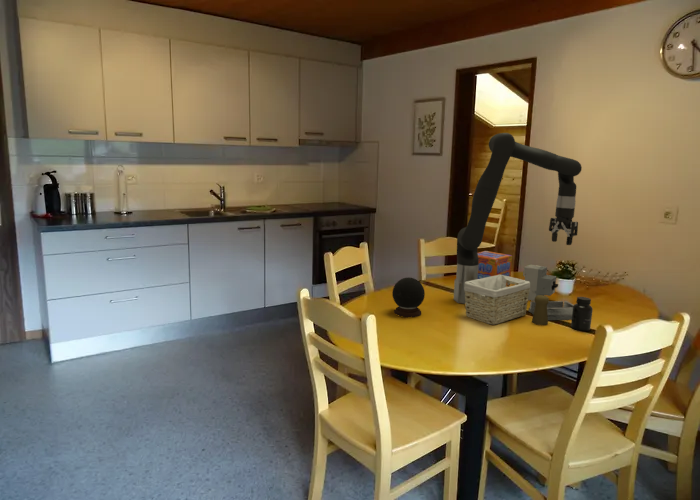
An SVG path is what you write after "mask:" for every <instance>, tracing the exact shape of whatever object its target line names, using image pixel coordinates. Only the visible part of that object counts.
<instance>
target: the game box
mask: <svg viewBox="0 0 700 500" xmlns="http://www.w3.org/2000/svg"><path fill="white" fill-rule="evenodd" d="M477 253H478V258H479V264H478V279H482V278H486V277H490V276H496V275H504V276H509V277H512V276H511V275H512V263H513V255H511V254H505V253H500V252H494V251H490V250H489V251H488V250H484V251H479V252H477ZM509 286H511V283H506V287H509Z"/></svg>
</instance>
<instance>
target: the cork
mask: <svg viewBox="0 0 700 500" xmlns="http://www.w3.org/2000/svg"><path fill="white" fill-rule="evenodd" d="M549 301H550V298H549V296H548V295H537V296H536V297H535V301H534V302H535V303H536V305H535V309H534V314H532V318H531V323H532V324H534V325H538V326H547V325H548V324H549V320H548V315H547V304H548V302H549Z"/></svg>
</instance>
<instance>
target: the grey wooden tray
mask: <svg viewBox="0 0 700 500" xmlns="http://www.w3.org/2000/svg"><path fill="white" fill-rule="evenodd" d="M535 305H536V303H535V301H530V304H529V307H528V312H529V313H531V314H532V315H533V314H534V309H535ZM574 305H575V304H573V303H571V302H570V301H568V300H564V301H562V300H555V301H554V300H552V301H550V300H549V302H548V304H547V315H548V321H570V320H572V312H573V306H574Z"/></svg>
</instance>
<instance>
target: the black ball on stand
mask: <svg viewBox="0 0 700 500" xmlns="http://www.w3.org/2000/svg"><path fill="white" fill-rule="evenodd" d="M391 295H392V299H393V301H394V304H396V305H397V307H396V308H395V309H394V310H393V313H395V314H397V315H399V316H398V317H401V316H403V317H402V318H408V317H412V318H417V317H420V316H421V315H422V310H421V309H420V308H419V307H420V306H421V305H422V303H423V302H424V300H425V295H426V294H425V288H424V286H423V284H422V283H421V282H420V281H419V280H418V279H416V278H415V277H404V278H403V277H402V278H401V279H399V280H397V282H396V283H394V286H393V289H392V294H391ZM395 314H394V315H395ZM397 315H396V316H397Z"/></svg>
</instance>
